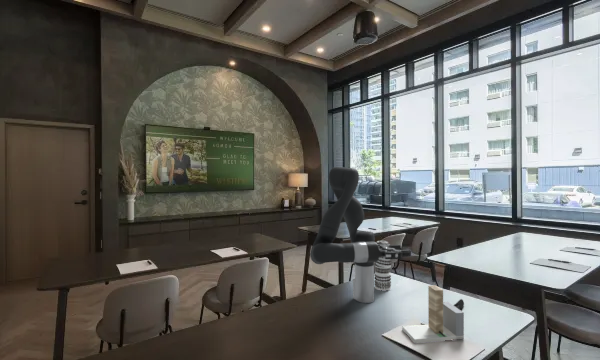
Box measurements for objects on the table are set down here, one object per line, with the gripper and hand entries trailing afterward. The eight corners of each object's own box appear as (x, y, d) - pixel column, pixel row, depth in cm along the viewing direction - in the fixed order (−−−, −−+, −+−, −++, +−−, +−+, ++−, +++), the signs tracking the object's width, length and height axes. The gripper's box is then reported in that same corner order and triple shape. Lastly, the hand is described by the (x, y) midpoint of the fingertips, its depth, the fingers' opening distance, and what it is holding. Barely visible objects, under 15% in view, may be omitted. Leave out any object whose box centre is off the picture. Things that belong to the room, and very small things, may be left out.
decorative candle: (374, 290, 167) (374, 243, 166) (373, 284, 176) (373, 239, 175) (392, 291, 165) (392, 243, 165) (390, 285, 174) (390, 239, 174)
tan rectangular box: (440, 338, 115) (440, 293, 114) (428, 326, 123) (428, 285, 123) (448, 337, 115) (448, 293, 115) (435, 326, 124) (435, 285, 123)
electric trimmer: (466, 306, 147) (466, 299, 147) (456, 317, 135) (456, 310, 135) (457, 304, 149) (457, 297, 149) (447, 315, 138) (447, 308, 138)
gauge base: (414, 343, 115) (414, 315, 114) (402, 330, 124) (402, 304, 124) (463, 339, 117) (463, 312, 117) (447, 326, 127) (447, 301, 127)
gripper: (370, 246, 112) (414, 244, 114) (358, 238, 126) (397, 236, 128) (370, 267, 112) (414, 265, 114) (358, 257, 126) (397, 255, 128)
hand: (405, 250), depth 121 cm, fingers open, 8 cm apart
